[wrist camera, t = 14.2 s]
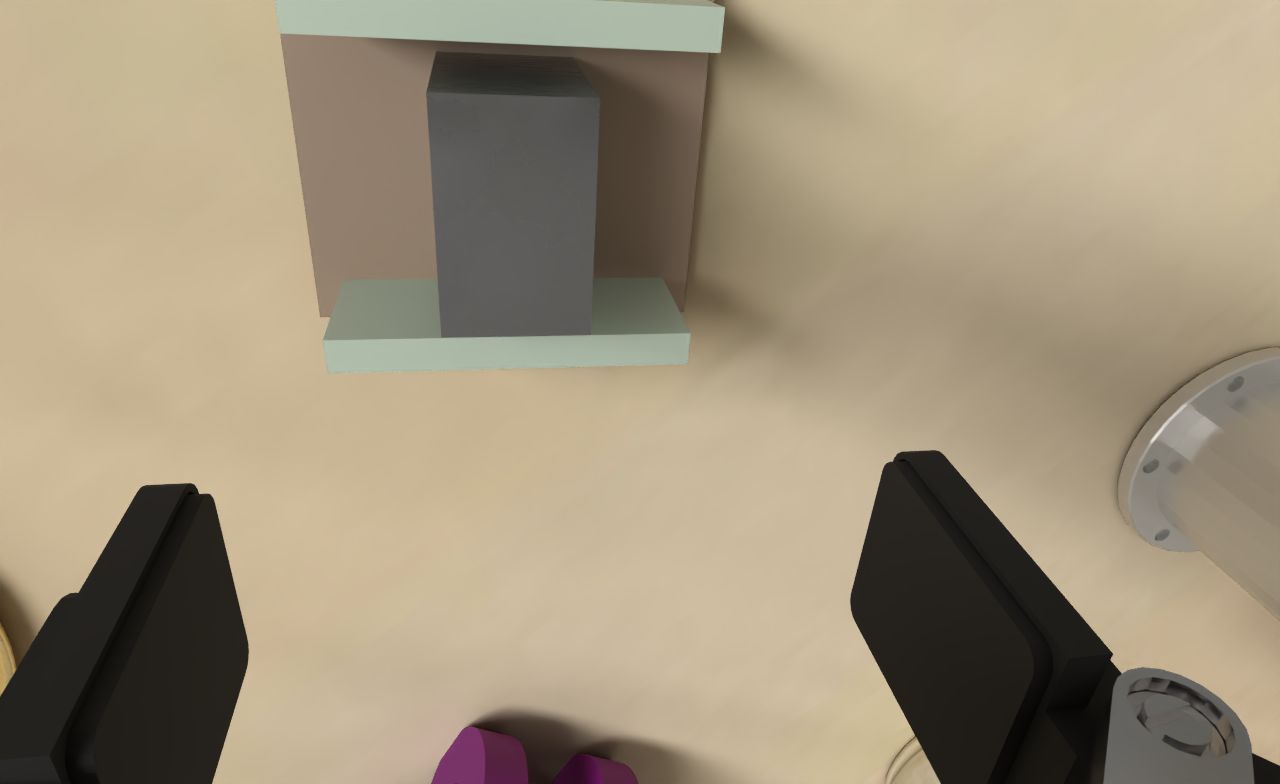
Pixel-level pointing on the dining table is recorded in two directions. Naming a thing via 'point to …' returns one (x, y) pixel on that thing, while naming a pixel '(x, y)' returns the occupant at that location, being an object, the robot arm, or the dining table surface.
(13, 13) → the dining table surface
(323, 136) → the post slot
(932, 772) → the jug
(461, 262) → the tall grey upright block
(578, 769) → the mounting bracket
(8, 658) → the gold oval ring
